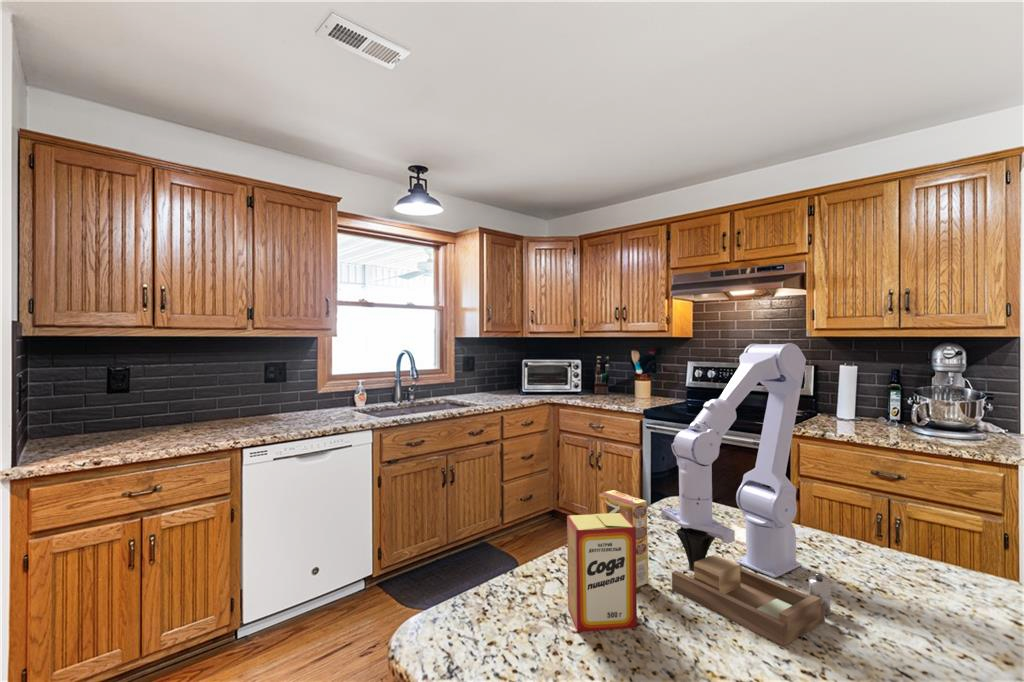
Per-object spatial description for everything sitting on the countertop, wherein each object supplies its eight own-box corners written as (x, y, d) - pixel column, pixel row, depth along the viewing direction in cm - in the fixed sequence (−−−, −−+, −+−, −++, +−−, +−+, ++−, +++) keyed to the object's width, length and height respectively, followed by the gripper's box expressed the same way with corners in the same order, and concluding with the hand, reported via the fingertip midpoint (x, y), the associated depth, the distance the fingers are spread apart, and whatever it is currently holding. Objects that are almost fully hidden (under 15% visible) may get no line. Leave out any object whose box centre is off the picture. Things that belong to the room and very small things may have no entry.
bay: (713, 572, 95) (713, 551, 95) (825, 621, 78) (824, 595, 78) (672, 589, 88) (671, 566, 88) (783, 646, 71) (782, 618, 71)
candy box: (649, 583, 90) (648, 500, 90) (633, 590, 88) (632, 504, 88) (614, 566, 98) (613, 489, 98) (599, 571, 95) (598, 492, 95)
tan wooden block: (716, 575, 91) (715, 554, 91) (741, 586, 87) (740, 564, 87) (693, 584, 88) (693, 562, 88) (718, 596, 83) (718, 573, 83)
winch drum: (814, 604, 83) (814, 568, 83) (834, 612, 80) (833, 575, 80) (805, 609, 81) (804, 572, 81) (824, 617, 79) (824, 580, 79)
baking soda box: (577, 632, 75) (576, 527, 75) (568, 609, 82) (567, 513, 82) (636, 627, 76) (635, 524, 76) (623, 605, 83) (622, 510, 83)
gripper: (650, 489, 95) (651, 559, 95) (716, 510, 83) (717, 591, 83) (674, 483, 99) (675, 551, 99) (741, 502, 86) (742, 580, 86)
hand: (696, 568), depth 91 cm, fingers closed
